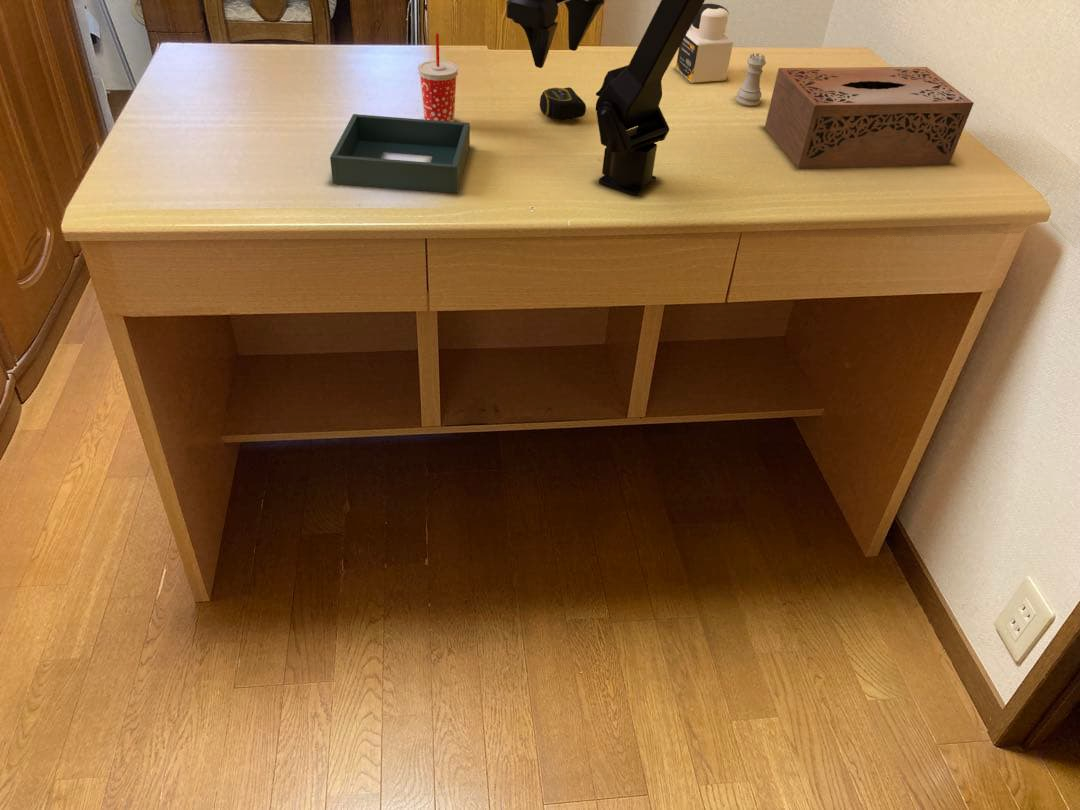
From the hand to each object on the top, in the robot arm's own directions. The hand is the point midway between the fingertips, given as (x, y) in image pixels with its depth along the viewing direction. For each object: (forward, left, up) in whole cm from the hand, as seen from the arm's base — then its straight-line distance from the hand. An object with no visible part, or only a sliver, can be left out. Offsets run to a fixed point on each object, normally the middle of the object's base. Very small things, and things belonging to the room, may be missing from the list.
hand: (556, 58), depth 127 cm
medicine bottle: (-6, -42, -13) cm, 44 cm away
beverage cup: (+17, +6, -13) cm, 23 cm away
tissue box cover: (-39, -31, -13) cm, 52 cm away
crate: (+12, +20, -13) cm, 27 cm away
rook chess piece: (-18, -36, -13) cm, 42 cm away
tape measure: (+4, -10, -13) cm, 17 cm away
